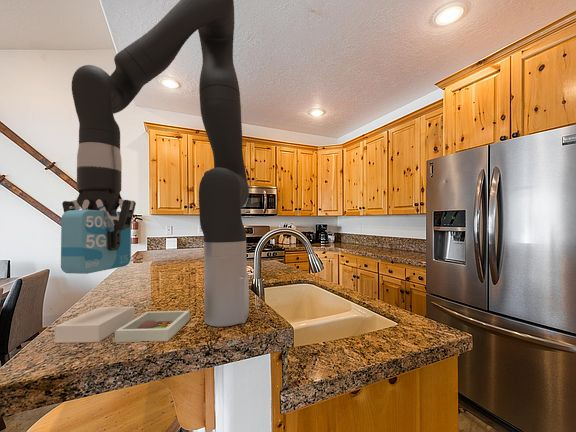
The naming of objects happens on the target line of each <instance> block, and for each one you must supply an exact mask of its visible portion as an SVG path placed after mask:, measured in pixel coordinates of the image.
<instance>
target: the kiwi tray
mask: <svg viewBox="0 0 576 432" xmlns="http://www.w3.org/2000/svg"><path fill="white" fill-rule="evenodd" d="M149 320H153V321H156V322H158V323H160V322H162V323H163V322H165V323H166V322H170V324H168V325H167V326H165V327H166V328H153V329H137V328H138V327H139V326H140V324H142V323H143V322H145V321H149ZM190 320H191V311H190V310H170V311H169V310H167V311H166V310H163V311H162V310H161V311H158V310H156V311H146V312H143V313H142V314H141V315H139V316H137V317H136V318H134V320H132V321H131V322H129V323H127V324H126V325H124V326H122V327H121V328H119V329H117V330H116V331H115V332H114V343H142V342H141V341H149V342H168V341H170V339H172V338H173V337H174V336H175V335H176V334H177V333H178V332H179V331H180V330H181V329H183V327H184V326H186V324H187V323H189V321H190Z"/></svg>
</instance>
